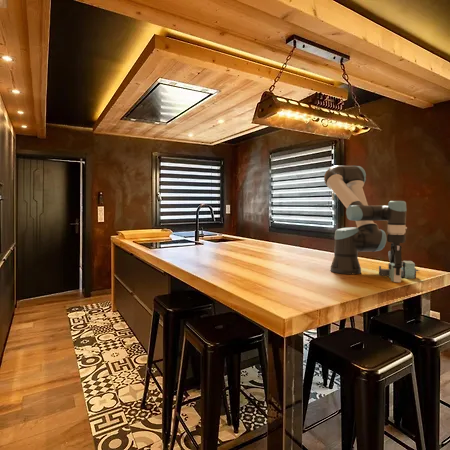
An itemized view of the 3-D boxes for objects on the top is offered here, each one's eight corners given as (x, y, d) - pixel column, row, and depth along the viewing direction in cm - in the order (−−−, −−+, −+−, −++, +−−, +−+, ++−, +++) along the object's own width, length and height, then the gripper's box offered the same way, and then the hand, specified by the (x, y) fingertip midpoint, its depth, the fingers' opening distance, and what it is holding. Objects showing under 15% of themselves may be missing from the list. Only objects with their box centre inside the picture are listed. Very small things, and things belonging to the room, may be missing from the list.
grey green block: (398, 278, 155) (399, 263, 154) (401, 281, 147) (401, 265, 147) (387, 277, 156) (387, 262, 156) (389, 280, 149) (389, 265, 149)
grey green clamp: (379, 276, 159) (380, 261, 159) (378, 273, 166) (378, 259, 166) (416, 278, 153) (417, 263, 153) (413, 275, 161) (414, 261, 160)
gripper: (410, 236, 138) (408, 285, 139) (401, 232, 161) (400, 274, 162) (390, 235, 140) (389, 284, 141) (384, 232, 163) (383, 273, 164)
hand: (395, 279), depth 152 cm, fingers open, 12 cm apart
